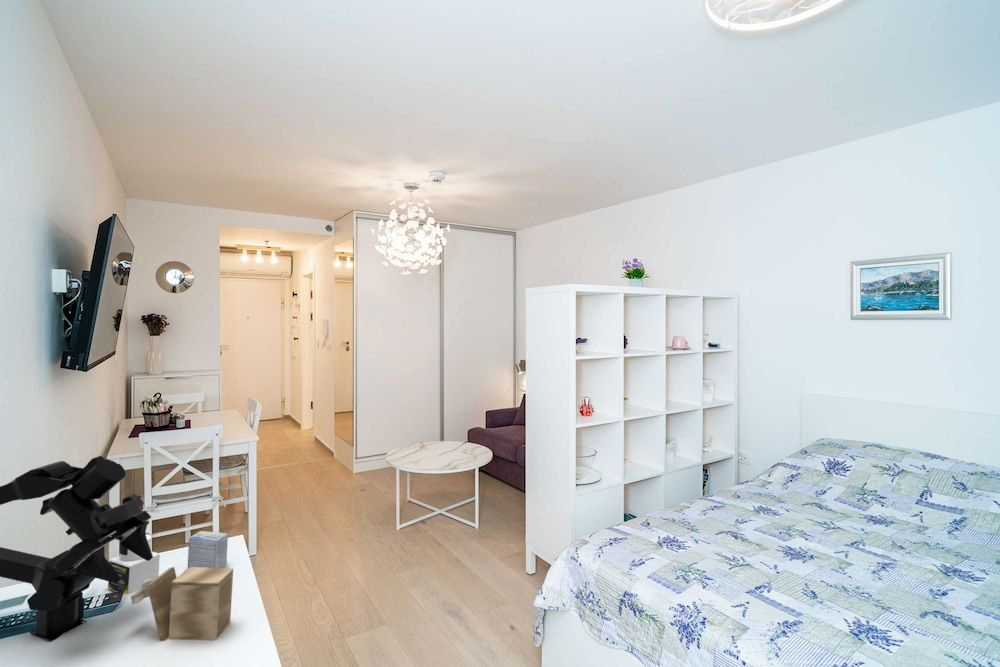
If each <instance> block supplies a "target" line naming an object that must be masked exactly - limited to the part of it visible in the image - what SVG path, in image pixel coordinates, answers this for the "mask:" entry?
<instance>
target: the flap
mask: <svg viewBox="0 0 1000 667" xmlns="http://www.w3.org/2000/svg"><path fill="white" fill-rule="evenodd" d="M177 577H178V576H177V574H176V568H175V566H173V567H169V568H168V569H166V570H165V571H163V572H162V573H161V574H159V576H158V577H154V578H150V579H147V580H145V581H144V582H143V583H141V586H142V588H141V589H138V590H136V591H135V592H134V594H133V593H132V595H130V600H131V603H132V605H134V604H139V603H141V601H143V600H144V599H146V598H149V600H150V604H151V608H152V612H153V613H152V614H153V617H154V620H155V624H156V630H157V632H158V638H159V641H165V640H167V639H169V625H170V607H171V589H172V581H173V580H175V579H176V578H177Z"/></svg>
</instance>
